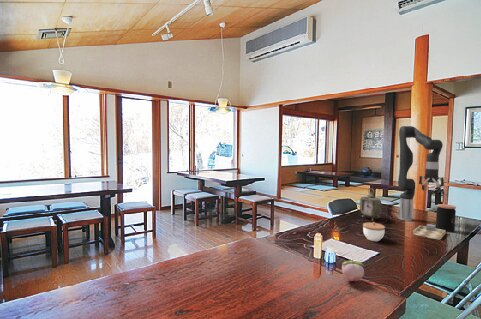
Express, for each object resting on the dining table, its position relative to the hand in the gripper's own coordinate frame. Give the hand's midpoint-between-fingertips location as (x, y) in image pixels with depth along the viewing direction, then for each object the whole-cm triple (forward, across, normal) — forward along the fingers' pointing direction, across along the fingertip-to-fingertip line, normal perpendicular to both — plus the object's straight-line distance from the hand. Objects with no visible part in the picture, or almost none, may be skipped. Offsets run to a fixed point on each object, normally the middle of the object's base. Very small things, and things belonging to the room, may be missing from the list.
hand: (430, 191), depth 193 cm
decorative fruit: (+28, +6, +111) cm, 115 cm away
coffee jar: (+28, -8, -8) cm, 30 cm away
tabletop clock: (+28, +40, 0) cm, 49 cm away
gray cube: (+27, -2, +7) cm, 28 cm away
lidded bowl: (+28, +20, +48) cm, 59 cm away
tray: (+28, -2, +11) cm, 30 cm away
